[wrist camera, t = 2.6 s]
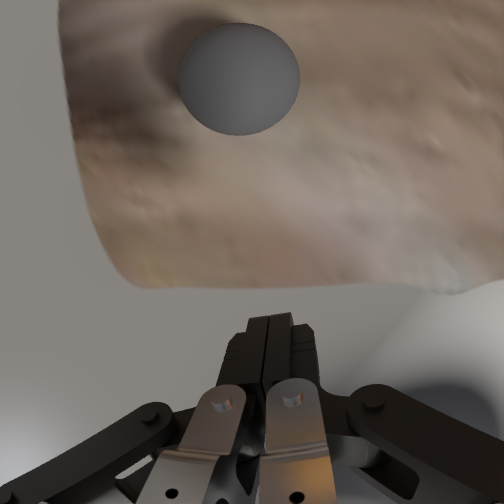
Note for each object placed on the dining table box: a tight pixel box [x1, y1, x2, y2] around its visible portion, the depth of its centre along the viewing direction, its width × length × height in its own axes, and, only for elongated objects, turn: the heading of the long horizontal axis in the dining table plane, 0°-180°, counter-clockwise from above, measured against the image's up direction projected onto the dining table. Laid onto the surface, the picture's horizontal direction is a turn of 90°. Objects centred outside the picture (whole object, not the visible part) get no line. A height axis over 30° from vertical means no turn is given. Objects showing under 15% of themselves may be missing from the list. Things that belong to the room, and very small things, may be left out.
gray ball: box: [179, 23, 300, 136], centre depth 14 cm, size 6×6×6 cm
